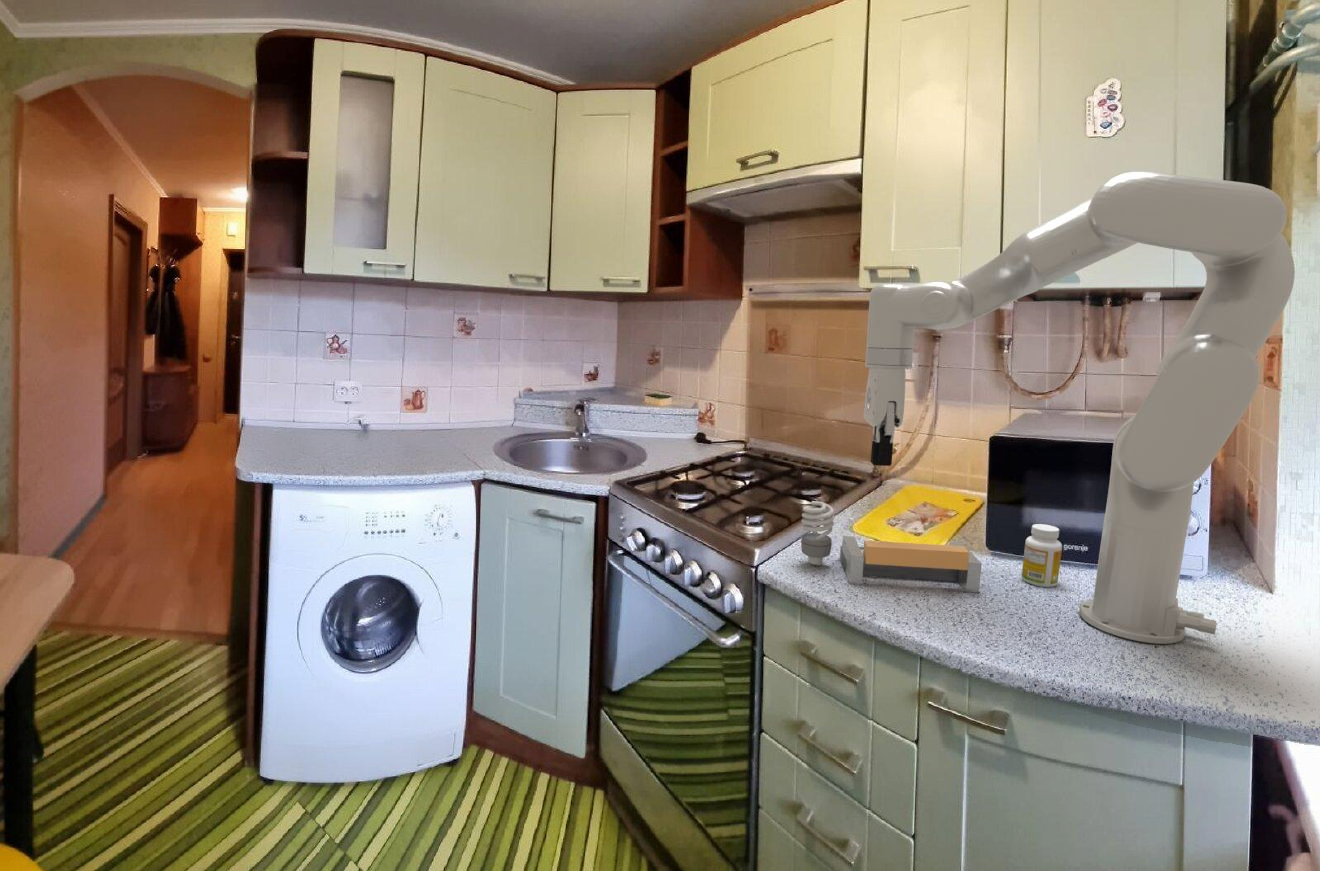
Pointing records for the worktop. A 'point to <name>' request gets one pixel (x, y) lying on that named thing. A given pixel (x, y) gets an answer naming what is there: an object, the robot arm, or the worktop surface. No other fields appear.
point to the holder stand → (906, 568)
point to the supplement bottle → (1042, 556)
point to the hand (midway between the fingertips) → (880, 464)
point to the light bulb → (816, 542)
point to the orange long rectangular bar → (916, 555)
